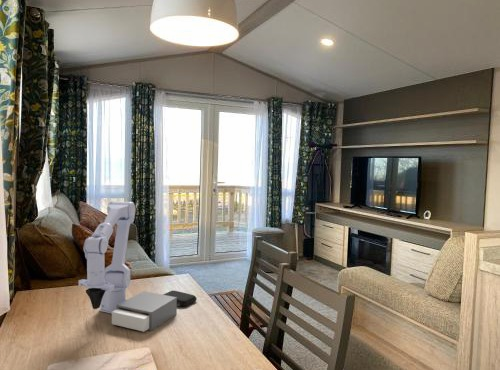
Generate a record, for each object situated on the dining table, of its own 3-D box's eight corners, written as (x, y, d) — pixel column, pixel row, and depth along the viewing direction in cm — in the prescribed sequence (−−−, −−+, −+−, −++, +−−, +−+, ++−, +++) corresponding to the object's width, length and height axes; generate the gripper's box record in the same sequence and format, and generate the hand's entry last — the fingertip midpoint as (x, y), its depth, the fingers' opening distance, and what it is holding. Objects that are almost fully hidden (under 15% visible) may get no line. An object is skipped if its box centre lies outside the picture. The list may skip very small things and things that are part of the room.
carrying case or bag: (155, 302, 162) (182, 310, 155) (155, 295, 162) (183, 302, 155) (172, 295, 171) (198, 301, 164) (172, 288, 171) (198, 294, 164)
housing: (116, 322, 141) (116, 304, 141) (143, 307, 156) (143, 291, 156) (151, 330, 135) (151, 312, 135) (176, 314, 150) (176, 297, 150)
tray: (111, 324, 138) (111, 311, 138) (136, 310, 150) (136, 299, 150) (144, 331, 133) (144, 318, 132) (166, 317, 145) (166, 305, 145)
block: (131, 320, 140) (131, 310, 140) (139, 316, 145) (139, 306, 144) (140, 323, 139) (140, 312, 138) (148, 318, 143) (148, 308, 142)
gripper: (71, 271, 132) (72, 308, 134) (103, 276, 127) (104, 315, 128) (86, 265, 139) (87, 301, 140) (118, 271, 134) (118, 308, 135)
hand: (96, 307), depth 135 cm, fingers closed
